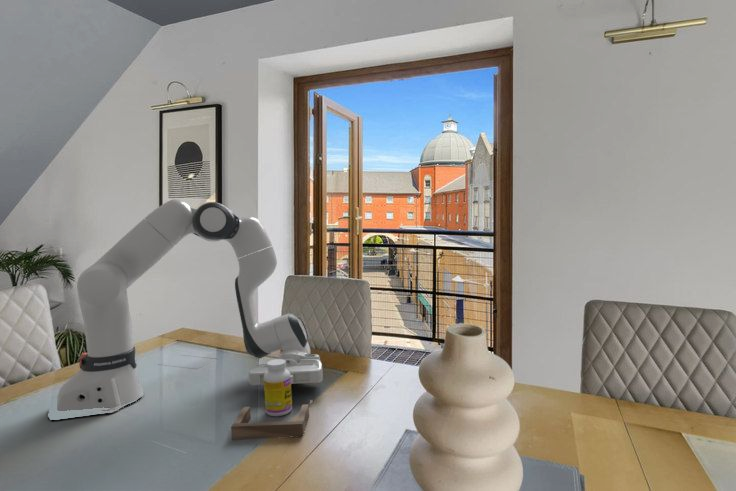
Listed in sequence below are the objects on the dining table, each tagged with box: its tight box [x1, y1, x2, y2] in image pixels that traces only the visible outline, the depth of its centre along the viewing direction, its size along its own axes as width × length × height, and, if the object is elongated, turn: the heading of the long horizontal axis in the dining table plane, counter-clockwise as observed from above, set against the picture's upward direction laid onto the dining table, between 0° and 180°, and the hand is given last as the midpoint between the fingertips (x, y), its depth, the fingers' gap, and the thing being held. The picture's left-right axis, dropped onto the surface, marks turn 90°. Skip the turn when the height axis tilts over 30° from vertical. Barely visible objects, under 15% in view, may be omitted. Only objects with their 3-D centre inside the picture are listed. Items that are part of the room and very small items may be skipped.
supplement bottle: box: [263, 358, 293, 417], centre depth 112 cm, size 7×7×13 cm
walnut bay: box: [230, 403, 310, 440], centre depth 104 cm, size 10×16×3 cm, turn 90°
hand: (281, 385), depth 115 cm, fingers closed, pressing on supplement bottle
